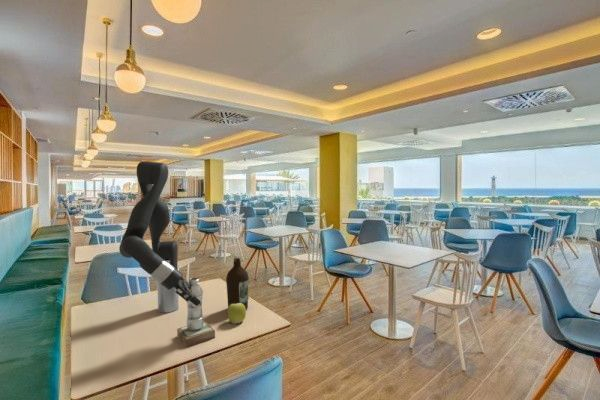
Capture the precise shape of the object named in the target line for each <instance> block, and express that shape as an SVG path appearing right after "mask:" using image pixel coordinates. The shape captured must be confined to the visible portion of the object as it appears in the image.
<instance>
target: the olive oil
mask: <svg viewBox="0 0 600 400" xmlns="http://www.w3.org/2000/svg"><path fill="white" fill-rule="evenodd" d="M241 264H242V261H241V257H239V256H238V257H234V258H233V266H232V267H231V269H229V271H228V272H227V274H226V278H225V280H226V283H225V285H226V296H227V308H228V307H229V306H230V305H231V304H235V303H236V304H237V303H242V304H243V305H244V306H245V308H246V311H247V310H248V309H249V303H248V302H249V279H250V278H249V274H248V271H247V270H246V269H245V268H244V267H243V266H242V265H241ZM234 301H235V302H234ZM247 308H248V309H247Z"/></svg>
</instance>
